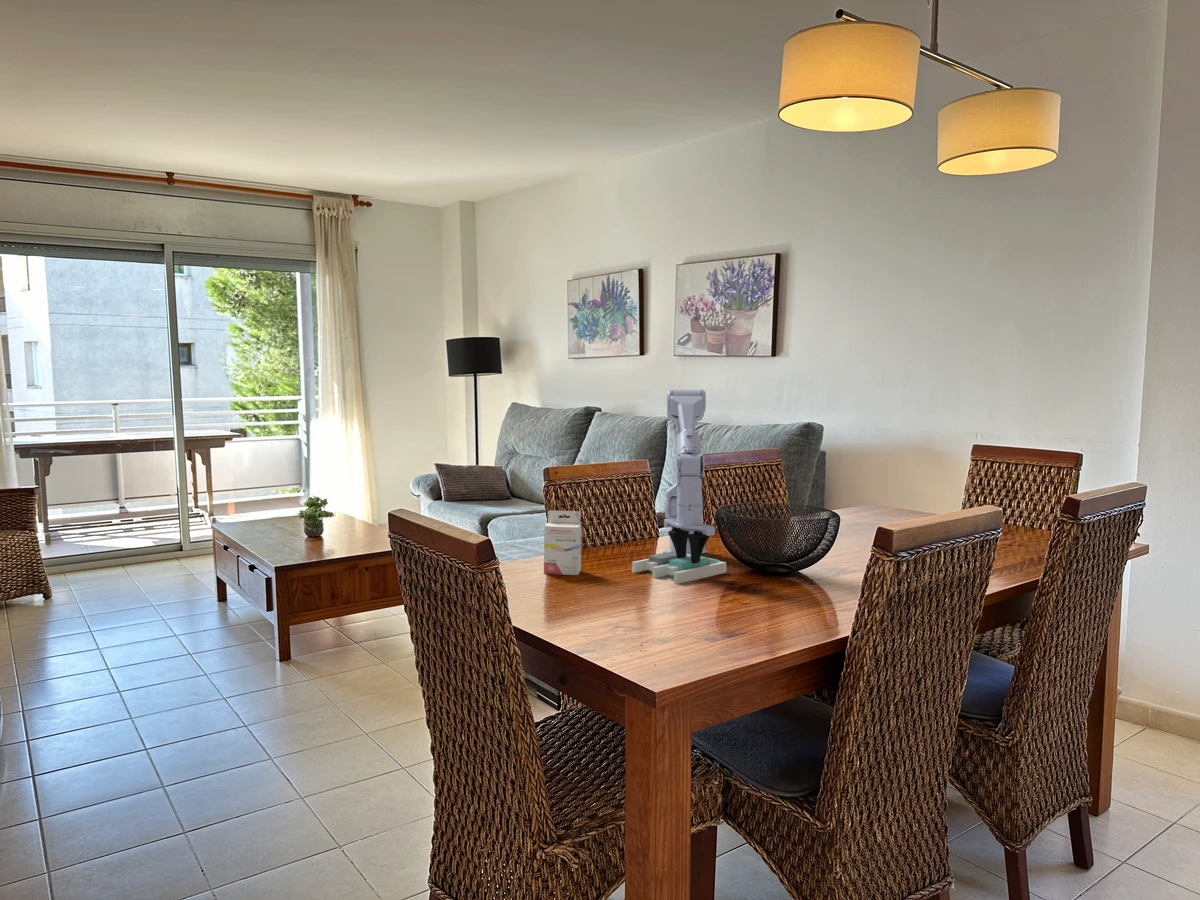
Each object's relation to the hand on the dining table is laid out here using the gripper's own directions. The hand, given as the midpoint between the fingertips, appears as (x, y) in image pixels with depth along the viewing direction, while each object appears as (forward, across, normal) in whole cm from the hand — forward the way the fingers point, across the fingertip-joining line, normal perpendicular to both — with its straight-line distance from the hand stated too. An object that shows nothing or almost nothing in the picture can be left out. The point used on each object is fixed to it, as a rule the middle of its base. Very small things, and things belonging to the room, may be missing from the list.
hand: (688, 561), depth 196 cm
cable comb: (+3, -4, +1) cm, 5 cm away
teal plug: (+3, 0, 0) cm, 3 cm away
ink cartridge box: (+4, -22, -21) cm, 30 cm away
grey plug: (+4, -7, 0) cm, 8 cm away
